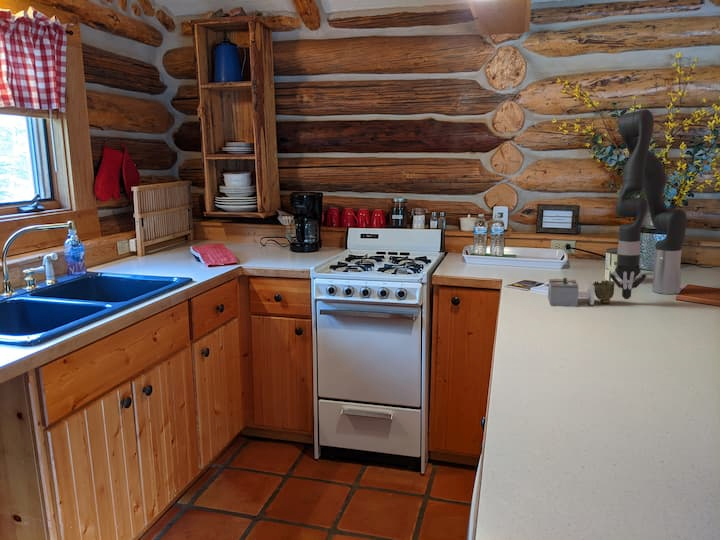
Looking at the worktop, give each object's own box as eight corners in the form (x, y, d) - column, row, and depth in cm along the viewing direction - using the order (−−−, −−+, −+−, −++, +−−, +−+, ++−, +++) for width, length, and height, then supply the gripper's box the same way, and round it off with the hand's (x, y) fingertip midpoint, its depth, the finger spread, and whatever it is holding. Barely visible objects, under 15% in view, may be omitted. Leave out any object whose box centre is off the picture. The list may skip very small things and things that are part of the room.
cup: (612, 299, 221) (610, 279, 220) (618, 304, 214) (617, 283, 213) (592, 301, 222) (590, 281, 221) (598, 306, 215) (596, 285, 214)
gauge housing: (573, 298, 226) (574, 278, 225) (577, 306, 215) (578, 285, 213) (548, 297, 229) (548, 278, 227) (550, 305, 217) (551, 284, 216)
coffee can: (623, 279, 258) (625, 247, 255) (634, 284, 248) (636, 251, 245) (600, 279, 258) (602, 248, 255) (609, 284, 248) (611, 252, 245)
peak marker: (565, 281, 219) (566, 277, 219) (566, 283, 217) (566, 278, 217) (563, 281, 219) (563, 277, 219) (563, 282, 218) (563, 278, 217)
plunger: (590, 299, 223) (591, 277, 221) (593, 304, 215) (594, 281, 214) (563, 298, 225) (564, 276, 224) (565, 304, 218) (566, 281, 216)
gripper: (645, 250, 215) (643, 296, 218) (607, 250, 218) (605, 295, 221) (650, 254, 208) (648, 301, 211) (611, 254, 211) (609, 300, 214)
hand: (626, 298), depth 216 cm, fingers closed
